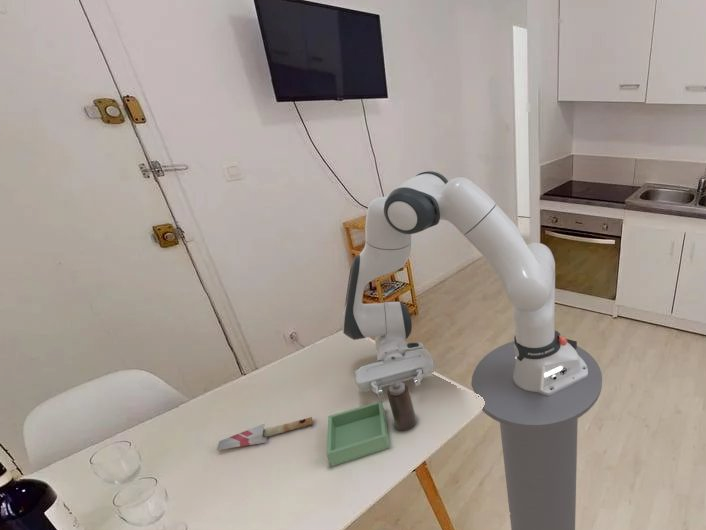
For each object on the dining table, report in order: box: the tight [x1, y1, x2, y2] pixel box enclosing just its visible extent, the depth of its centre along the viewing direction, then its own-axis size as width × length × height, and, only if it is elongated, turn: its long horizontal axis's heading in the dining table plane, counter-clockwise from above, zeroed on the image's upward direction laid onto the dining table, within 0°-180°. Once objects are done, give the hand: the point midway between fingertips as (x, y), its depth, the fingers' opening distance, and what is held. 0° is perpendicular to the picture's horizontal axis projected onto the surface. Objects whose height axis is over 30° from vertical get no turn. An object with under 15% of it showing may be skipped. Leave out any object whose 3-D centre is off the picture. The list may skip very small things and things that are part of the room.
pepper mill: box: [386, 381, 417, 432], centre depth 100 cm, size 5×5×13 cm
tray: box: [326, 400, 390, 467], centre depth 99 cm, size 13×13×4 cm
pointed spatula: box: [216, 416, 314, 451], centre depth 100 cm, size 4×3×20 cm
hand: (399, 389), depth 105 cm, fingers open, 8 cm apart
